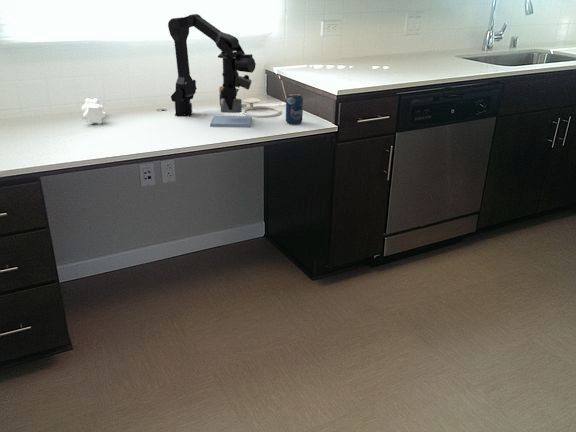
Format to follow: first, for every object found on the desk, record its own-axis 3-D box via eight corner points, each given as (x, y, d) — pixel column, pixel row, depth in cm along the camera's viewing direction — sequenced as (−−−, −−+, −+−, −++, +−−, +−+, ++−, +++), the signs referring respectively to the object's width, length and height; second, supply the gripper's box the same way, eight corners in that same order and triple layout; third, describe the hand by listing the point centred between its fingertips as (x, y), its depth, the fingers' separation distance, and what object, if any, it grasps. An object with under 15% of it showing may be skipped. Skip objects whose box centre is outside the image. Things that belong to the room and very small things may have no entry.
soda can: (292, 126, 224) (293, 97, 219) (282, 122, 229) (282, 93, 224) (305, 123, 228) (306, 94, 223) (295, 120, 233) (295, 91, 228)
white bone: (106, 125, 222) (106, 105, 219) (83, 125, 219) (83, 105, 216) (103, 116, 235) (102, 97, 232) (81, 116, 231) (81, 97, 228)
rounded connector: (220, 112, 223) (219, 100, 221) (221, 110, 227) (220, 98, 225) (246, 112, 224) (246, 100, 221) (246, 110, 227) (246, 98, 225)
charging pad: (210, 126, 221) (210, 123, 221) (214, 118, 233) (214, 115, 232) (249, 127, 221) (249, 124, 221) (251, 118, 233) (251, 116, 233)
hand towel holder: (257, 110, 230) (230, 100, 245) (257, 120, 232) (230, 110, 247) (288, 104, 240) (261, 96, 254) (288, 114, 242) (261, 105, 256)
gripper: (248, 74, 210) (249, 114, 216) (251, 66, 227) (251, 103, 233) (219, 74, 209) (221, 114, 216) (224, 65, 226) (225, 103, 233)
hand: (231, 108), depth 225 cm, fingers closed on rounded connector, 4 cm apart
